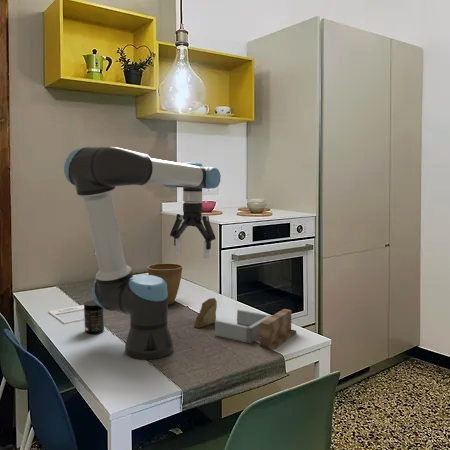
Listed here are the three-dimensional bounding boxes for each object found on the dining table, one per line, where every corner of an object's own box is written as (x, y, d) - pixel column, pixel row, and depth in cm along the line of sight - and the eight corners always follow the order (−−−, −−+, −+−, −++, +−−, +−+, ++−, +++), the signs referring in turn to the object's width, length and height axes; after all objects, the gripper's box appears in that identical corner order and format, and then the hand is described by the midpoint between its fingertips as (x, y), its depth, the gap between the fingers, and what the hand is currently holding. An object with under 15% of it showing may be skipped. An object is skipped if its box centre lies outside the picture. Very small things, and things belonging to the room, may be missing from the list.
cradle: (250, 343, 156) (250, 328, 156) (215, 335, 164) (215, 321, 163) (272, 329, 170) (272, 315, 170) (238, 322, 178) (238, 309, 177)
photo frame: (83, 304, 198) (101, 314, 184) (83, 307, 198) (101, 317, 184) (48, 310, 189) (64, 322, 175) (48, 313, 189) (64, 325, 175)
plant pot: (189, 302, 203) (189, 266, 202) (161, 309, 193) (161, 271, 191) (168, 296, 214) (168, 261, 212) (141, 302, 204) (140, 265, 202)
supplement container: (108, 331, 168) (107, 302, 166) (92, 336, 162) (91, 306, 161) (96, 327, 172) (96, 299, 171) (80, 331, 167) (79, 303, 165)
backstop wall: (273, 349, 151) (274, 325, 150) (259, 346, 154) (260, 322, 153) (296, 333, 166) (296, 311, 165) (283, 330, 169) (283, 308, 168)
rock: (198, 325, 168) (223, 317, 172) (190, 303, 171) (215, 296, 175) (191, 334, 176) (216, 327, 180) (184, 313, 180) (208, 306, 184)
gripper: (224, 203, 181) (223, 258, 183) (173, 200, 194) (172, 251, 196) (214, 204, 175) (213, 260, 177) (161, 201, 187) (161, 254, 190)
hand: (192, 256), depth 186 cm, fingers open, 13 cm apart
